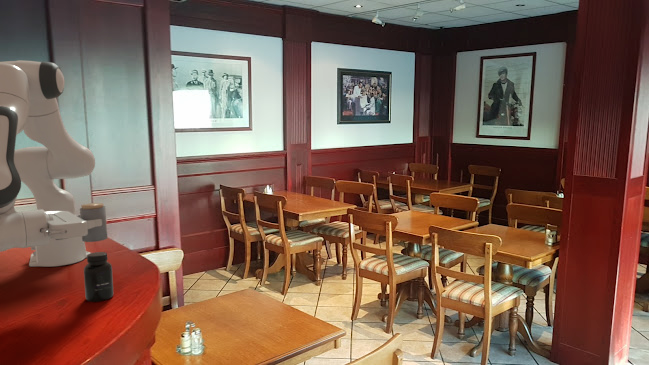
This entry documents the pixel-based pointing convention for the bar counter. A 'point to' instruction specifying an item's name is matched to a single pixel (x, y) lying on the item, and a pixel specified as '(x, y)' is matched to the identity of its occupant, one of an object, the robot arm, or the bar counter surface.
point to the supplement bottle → (98, 277)
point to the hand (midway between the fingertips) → (97, 219)
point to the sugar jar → (91, 213)
